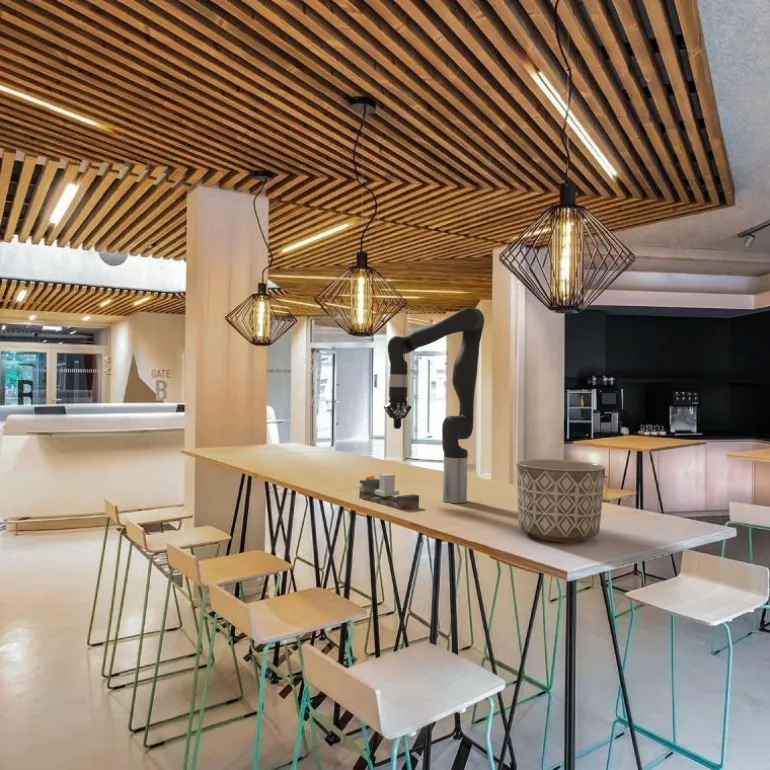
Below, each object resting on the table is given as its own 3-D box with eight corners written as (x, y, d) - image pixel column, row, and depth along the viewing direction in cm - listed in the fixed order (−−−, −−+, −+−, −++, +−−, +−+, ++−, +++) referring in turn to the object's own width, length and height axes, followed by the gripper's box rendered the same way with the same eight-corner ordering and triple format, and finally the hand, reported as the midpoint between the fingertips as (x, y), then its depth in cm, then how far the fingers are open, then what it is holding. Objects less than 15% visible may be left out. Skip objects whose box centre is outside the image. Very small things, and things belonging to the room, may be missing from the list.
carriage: (374, 493, 238) (375, 474, 238) (389, 492, 242) (389, 473, 242) (384, 496, 233) (384, 476, 233) (398, 494, 237) (399, 475, 237)
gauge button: (364, 479, 246) (364, 475, 246) (371, 478, 248) (371, 475, 248) (369, 480, 244) (369, 476, 244) (375, 479, 246) (376, 476, 246)
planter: (617, 537, 191) (619, 465, 191) (580, 552, 171) (582, 473, 171) (539, 522, 208) (541, 457, 208) (498, 535, 189) (500, 463, 189)
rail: (358, 497, 245) (359, 480, 245) (375, 496, 250) (376, 478, 250) (400, 510, 223) (401, 490, 223) (418, 507, 228) (419, 488, 228)
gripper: (405, 386, 259) (404, 427, 259) (379, 385, 251) (378, 428, 251) (416, 386, 253) (415, 429, 253) (391, 385, 245) (389, 429, 245)
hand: (397, 428), depth 252 cm, fingers closed
